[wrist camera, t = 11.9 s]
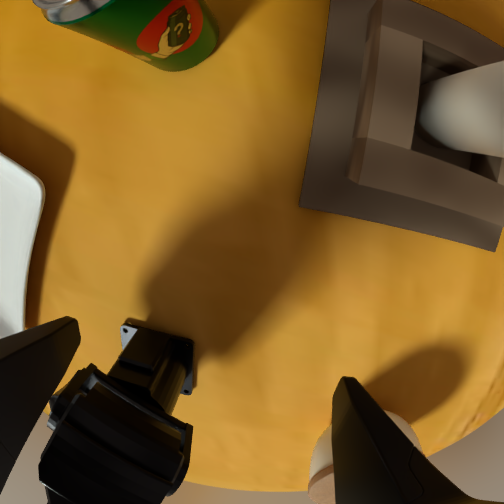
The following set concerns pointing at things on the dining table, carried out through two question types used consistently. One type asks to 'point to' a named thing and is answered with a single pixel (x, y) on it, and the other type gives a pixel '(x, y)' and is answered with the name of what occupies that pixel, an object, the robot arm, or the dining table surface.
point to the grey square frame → (398, 125)
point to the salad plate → (16, 239)
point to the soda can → (142, 27)
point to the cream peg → (464, 111)
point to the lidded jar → (322, 462)
